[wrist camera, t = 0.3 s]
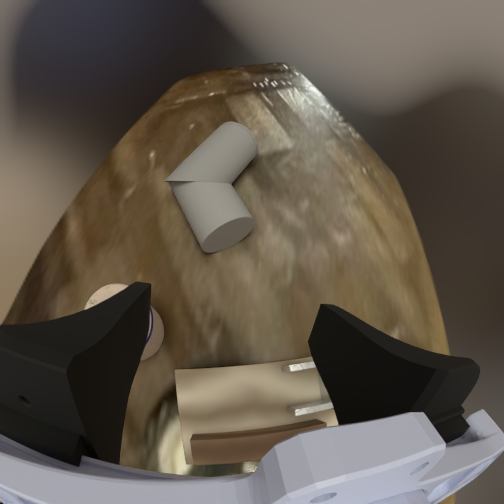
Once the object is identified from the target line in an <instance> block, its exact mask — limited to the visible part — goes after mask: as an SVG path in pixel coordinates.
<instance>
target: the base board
mask: <svg viewBox="0 0 504 504" xmlns="http://www.w3.org/2000/svg"><path fill="white" fill-rule="evenodd" d="M307 362H313V358H312V357H307V358H301V359H294V360H287V361H280V362H272V363H263V364H254V365H244V366H233V367H220V368H204V369H180V370H175V379H176V390H177V400H178V409H179V417H180V425H181V433H182V440H183V447H184V453H185V460H186V464H193V459H192V452H191V445H190V439H191V437H192V434H204V433H221V432H234V431H244V430H253V429H261V428H268V427H275V426H281V425H287V424H293V423H299V422H304V421H309V420H313V419H318V420H321V421H323V422H326V423H327V427H329V426H337V425H338V421H337V418H336V414H335V411H334V410H333V409H327V410H322V411H318V412H313V413H308V414H303V415H297V416H295V415H293V414H291V413H290V412H288V411H287V406H290V405H296V404H302V403H307V402H312V401H317V400H321V393H320V385H319V377H318V370H317V368H316V367H315V368H309V369H303V370H297V371H289V372H283V370H282V366H287V365H294V364H300V363H307Z"/></svg>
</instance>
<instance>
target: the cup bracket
mask: <svg viewBox="0 0 504 504" xmlns="http://www.w3.org/2000/svg"><path fill="white" fill-rule="evenodd" d="M315 367H316V366H315V364H314V361H313V362H307V363H300V364H294V365H287V366H282V370H283V372H289V371H297V370H303V369H309V368H315ZM318 377H319V385H320V393H321V400H317V401H312V402H307V403H302V404H296V405H290V406H287V411H288V412H290V413H291V414H293V415H295V416H297V415H303V414H308V413H313V412H318V411H322V410H327V409H333V410H334V408H333V404H332V402H331V399H330V397H329V395H328V392H327V390H326V388H325V386H324V384H323V381H322V379H321V377H320V375H319V373H318Z"/></svg>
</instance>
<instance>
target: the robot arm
mask: <svg viewBox="0 0 504 504" xmlns="http://www.w3.org/2000/svg"><path fill="white" fill-rule="evenodd" d="M150 299H151V284H150V283H143V282H135V283H133V284H131V285H130V286H128V287H126V288H125V289H123V290H122V291H120V292H118V293H117V294H115V295H113V296H112V297H110V298H108V299H106V300H104V301H102V302H100V303H98V304H96V305H95V306H92V307H90V308H88V309H86V310H83V311H80V312H78V313H75V314H72V315H69V316H65V317H61V318H58V319H54V320H50V321H44V322H38V323H31V324H15V325H1V326H0V502H2V503H4V504H437V503H439V502H440V501H442V500H444V499H445V498H447V497H448V496H450V495H451V494H453V493H455V492H456V491H458V490H459V489H460V488H462V487H463V486H465V485H466V484H468V483H469V482H471V481H472V480H474V479H475V478H476V477H477V476H478V475H479V474H480V473H482V472H483V471H484V470H485V469H486V468H487V467H488V466H489V465H490V464H491V463H492V462H493V461H494V460H495V459H496V458H497V457H498V456H499V455H500V454H501V453H502V452H503V451H504V433H503V432H502V431H501V430H500V428H499V427H498V426H497V425H496V424H495V422H494V421H493V420H492V419H491V418H490V417H489V415H488V414H487V413H486V412H485V411H484V410H483V409H482V410H479V411H477V412H475V413H473V414H471V415H469V416H468V417H467V418H466V419H464V418H463V417H462V415H461V414H463V413H464V409H463V407H462V406H461V405H462V403H463V402H464V400H465V399H466V398H467V396H468V395H469V393H470V392H471V390H472V389H473V387H474V386H475V384H476V382H477V380H478V378H479V374H480V367H479V366H478V364H477V363H475V361H474V360H472V359H470V358H463V357H454V356H448V355H443V354H439V353H434V352H431V351H427V350H424V349H421V348H418V347H415V346H412V345H409V344H407V343H404V342H402V341H400V340H397V339H395V338H393V337H391V336H389V335H387V334H385V333H383V332H381V331H379V330H377V329H376V328H374V327H372V326H370V325H369V324H367V323H365V322H364V321H362V320H360V319H359V318H357V317H355V316H354V315H352V314H350V313H349V312H347V311H345V310H343V309H342V308H340V307H337V306H335V305H331V304H321V305H320V308H319V311H318V314H317V317H316V320H315V323H314V326H313V329H312V332H311V335H310V338H309V340H308V343H309V347H310V352H311V355H312V358H313V361H314V364H315V366H316V368H317V370H318V373H319V375H320V377H321V379H322V381H323V384H324V386H325V388H326V390H327V392H328V395H329V397H330V399H331V402H332V404H333V408H334V411H335V414H336V418H337V421H338V425H337V426H329V427H322V428H318V429H314V430H309V431H305V432H300V433H297V434H295V435H293V436H291V437H289V438H287V439H285V440H283V441H281V442H278V443H277V444H276V445H275V446H274V447H273V448H272V449H271V450H270V451H269V452H268V453H267V454H266V455H265V456H264V457H263V458H262V459H261V461H260V463H259V465H258V467H257V469H256V471H255V472H250V473H243V474H236V475H228V476H219V477H200V476H187V475H177V474H168V473H160V472H154V471H147V470H142V469H136V468H131V467H126V466H121V465H119V462H120V451H121V441H122V433H123V426H124V420H125V413H126V408H127V402H128V397H129V393H130V389H131V385H132V382H133V380H134V377H135V374H136V371H137V368H138V365H139V362H140V360H141V357H142V354H143V351H144V348H145V346H146V341H147V337H148V332H149V327H150Z"/></svg>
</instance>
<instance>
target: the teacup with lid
mask: <svg viewBox="0 0 504 504" xmlns="http://www.w3.org/2000/svg"><path fill="white" fill-rule="evenodd" d="M128 286H130V285H127V284H120V283H117V284H110V285H106V286H104V287H102V288H100V289H99V290H97V291H96V292H95V293H94V294H93V295H92V296H91V298H90V299H89V301H88V302H87V304H86V307H85V310H86V309H88V308H90V307H92V306H95V305H96V304H98V303H100V302H102V301H104V300H106V299H108V298H110V297H112V296H113V295H115V294H117V293H118V292H120V291H122V290H123V289H125V288H126V287H128ZM163 338H164V326H163V322H162V320H161V317H160V316H159V314H158V313H157V312H156V310H155V309H154V308H153V307H152V306H151V305H150V327H149V332H148V337H147V341H146V346H145V348H144V351H143V354H142V357H141V360H140V361H142V360H145V359H148V358H150V357H151V356H153V355H154V354H155V353H156V352H157V351H158V350H159V348H160V347H161V344H162V342H163Z"/></svg>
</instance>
